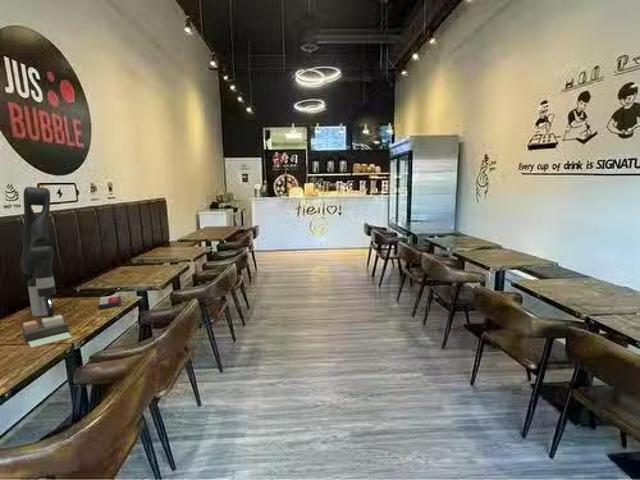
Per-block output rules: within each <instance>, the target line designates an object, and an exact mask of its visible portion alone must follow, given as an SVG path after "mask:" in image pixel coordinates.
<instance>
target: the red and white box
mask: <svg viewBox="0 0 640 480" xmlns="http://www.w3.org/2000/svg"><path fill="white" fill-rule="evenodd" d="M97 306H98V310H99V311H100V310H106V309H107V310H108V309H113V308H119V307H121V296H120V294H115V295H108V296H100V297H99V300H98V304H97Z"/></svg>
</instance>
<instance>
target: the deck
mask: <svg viewBox="0 0 640 480" xmlns="http://www.w3.org/2000/svg"><path fill="white" fill-rule="evenodd" d="M63 321H64V323H62V324H58V325H54V326H50V327H44V326H43V324H42V323H38V329H37V330H32V331H28V332H25V330H24V327H22V328H21V329H22V337H23V338H24V340H25V342H26V343H27V342H30V341H34V340H38V339H42V338H46V337H50V336H54V335H58V334H62V333H66V332H68V333H70V331H69V330H70V329H69V324H68V323H67V322H66V320H65V319H63Z"/></svg>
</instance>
